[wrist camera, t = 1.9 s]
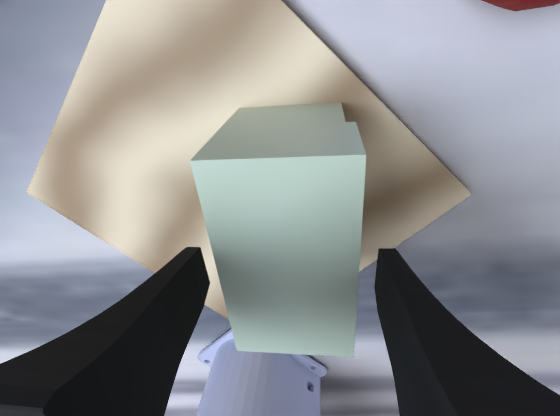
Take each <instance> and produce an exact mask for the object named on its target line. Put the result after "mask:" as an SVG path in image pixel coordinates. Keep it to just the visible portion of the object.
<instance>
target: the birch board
mask: <svg viewBox="0 0 560 416" xmlns="http://www.w3.org/2000/svg"><path fill="white" fill-rule="evenodd" d="M333 102H341V104H342V108H343V113H344V117H345V122H356V124H357V127H358V130H359V133H360V136H361V139H362V143H363V146H364V149H365V152H366V168H365V185H364V201H363V217H362V233H361V249H360V265H359V272H360V271H361V270H363V269H364V268H365V267H367V266H368V265H370V264H371V263H373V262H374V261H376V260H377V258H378V248H391V249H393V248H395V247H396V246H398V245H399V244H401V243H402V242H404V241H405V240H406V239H408V238H409V237H411V236H412V235H414V234H415V233H417V232H418V231H420V230H421V229H423V228H424V227H426V226H427V225H428V224H430V223H431V222H433V221H434V220H436V219H437V218H439V217H440V216H442V215H443V214H445V213H446V212H447V211H449V210H450V209H452V208H453V207H455V206H456V205H458V204H459V203H461V202H462V201H464V200H465V199H467V198H468V197H469V196H471V195H472V194H471V193H470V192H469V191H468V189H467V188H466V187H465V186H464V185H463V184H462V183H461V182H460V181H459V180H458V179H457V178H456V177H455V176H454V175H453V174H452V173H451V172H450V171H449V170H448V169H447V168H446V167H445V166H444V164H443V163H442V162H441V161H440V160H439V159H438V158H437V157H436V156H435V155H434V154H433V153H432V152H431V151H430V150H429V149H428V148H427V147H426V146H425V145H424V144H423V143H422V142H421V141H420V140H419V139H418V138H417V137H416V136H415V135H414V134H413V133H412V132H411V131H410V130H409V129H408V128H407V127H406V126H405V125H404V124H403V123H402V122H401V121H400V120H399V119H398V118H397V117H396V116H395V115H394V114H393V113H392V112H391V110H390V109H389V108H388V107H387V106H386V105H385V104H384V103H383V102H382V101H381V100H380V99H379V98H378V97H377V96H376V95H375V94H374V93H373V92H372V91H371V90H370V89H369V88H368V87H367V86H366V85H365V84H364V83H363V82H362V81H361V80H360V79H359V78H358V77H357V76H356V75H355V74H354V73H353V72H352V71H351V70H350V69H349V68H348V67H347V66H346V65H345V64H344V63H343V62H342V61H341V60H340V59H339V58H338V57H337V55H336V54H335V53H334V52H333V51H332V50H331V49H330V48H329V47H328V46H327V45H326V44H325V43H324V42H323V41H322V40H321V39H320V38H319V37H318V36H317V35H316V34H315V33H314V32H313V31H312V30H311V29H310V28H309V27H308V26H307V25H306V24H305V23H304V22H303V21H302V20H301V19H300V18H299V17H298V16H297V15H296V14H295V13H294V12H293V11H292V10H291V9H290V8H289V7H288V6H287V5H286V4H285V3H284V1H283V0H106V2H105V5H104V7H103V9H102V12H101V14H100V17H99V19H98V21H97V24H96V26H95V29H94V31H93V33H92V36H91V38H90V41H89V43H88V46H87V48H86V50H85V53H84V55H83V58H82V60H81V62H80V65H79V67H78V70H77V72H76V74H75V77H74V79H73V82H72V84H71V86H70V89H69V91H68V94H67V96H66V99H65V101H64V103H63V106H62V108H61V111H60V113H59V115H58V118H57V120H56V123H55V125H54V127H53V130H52V132H51V135H50V137H49V140H48V142H47V144H46V147H45V149H44V152H43V154H42V156H41V159H40V161H39V164H38V166H37V168H36V171H35V173H34V176H33V178H32V180H31V183H30V185H29V188H28V190H27V193H28V194H30V195H31V196H33V197H34V198H36V199H38V200H39V201H41V202H42V203H44V204H46V205H47V206H49V207H50V208H52V209H53V210H55V211H57V212H58V213H60V214H61V215H63V216H65V217H66V218H68V219H69V220H71V221H73V222H74V223H76V224H77V225H79V226H81V227H82V228H84V229H85V230H87V231H89V232H90V233H92V234H93V235H95V236H96V237H98V238H100V239H101V240H103V241H104V242H106V243H108V244H109V245H111V246H112V247H114V248H116V249H117V250H119V251H120V252H122V253H124V254H125V255H127V256H128V257H130V258H132V259H133V260H135V261H136V262H138V263H139V264H141V265H143V266H144V267H146V268H147V269H149V270H151V271H152V272H154V273H156V272H157V271H158V270H160V269H161V268H162V267H163V266H164V265H166V264H167V263H168V262H169V261H170V260H171V259H173V258H174V257H175V256H176V255H177V254H178V253H180V252H181V251H182V250H183V249H185V248H186V247H201V251H202V255H203V258H204V262H205V266H206V269H207V273H208V277H209V280H210V286H209V289H208V293H207V297H206V300H205V305H206V306H208V307H210V308H211V309H213V310H214V311H216V312H218V313H219V314H221V315H222V316H224V317H225V318H227V319H229V317H228V313H227V309H226V305H225V301H224V297H223V293H222V289H221V285H220V281H219V277H218V273H217V269H216V265H215V260H214V256H213V252H212V248H211V244H210V240H209V236H208V232H207V228H206V224H205V220H204V216H203V212H202V208H201V204H200V200H199V196H198V192H197V188H196V184H195V180H194V176H193V172H192V168H191V164H190V160H191V159H192V158H193V157H194V156H195V155H196V153H197V152H198V151H199V150H200V149H201V148H202V147H203V146H204V145H205V144H206V143H207V142H208V141H209V139H210V138H211V137H212V136H213V135H214V134H215V133H216V132H217V131H218V130H219V129H220V128H221V127H222V126H223V124H224V123H225V122H226V121H227V120H228V119H229V118H230V117H231V116H232V115H233V114H234V113H235V112H236V110H237V109H238V108H248V107H265V106H282V105H299V104H316V103H333Z"/></svg>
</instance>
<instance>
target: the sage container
mask: <svg viewBox="0 0 560 416" xmlns="http://www.w3.org/2000/svg"><path fill="white" fill-rule="evenodd" d="M190 164H191V168H192V172H193V176H194V180H195V184H196V188H197V192H198V196H199V200H200V204H201V208H202V212H203V216H204V220H205V224H206V228H207V232H208V236H209V240H210V244H211V248H212V252H213V256H214V260H215V265H216V269H217V273H218V277H219V281H220V285H221V289H222V293H223V297H224V301H225V305H226V309H227V313H228V317H229V321H230V325H231V329H232V333H233V337H234V341H235V345H236V349H237V351H249V352H266V353H284V354H302V355H320V356H338V357H354V345H355V329H356V313H357V297H358V281H359V265H360V249H361V233H362V217H363V201H364V185H365V168H366V152H365V149H364V146H363V143H362V139H361V136H360V133H359V130H358V127H357V124H356V122H345V117H344V113H343V108H342V104H341V102H333V103H316V104H299V105H282V106H265V107H248V108H238V109H237V110H236V112H235V113H234V114H233V115H232V116H231V117H230V118H229V119H228V120H227V121H226V122H225V123H224V124H223V126H222V127H221V128H220V129H219V130H218V131H217V132H216V133H215V134H214V135H213V136H212V137H211V138H210V139H209V141H208V142H207V143H206V144H205V145H204V146H203V147H202V148H201V149H200V150H199V151H198V152H197V153H196V155H195V156H194V157H193V158H192V159H191V160H190Z"/></svg>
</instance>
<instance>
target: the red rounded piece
mask: <svg viewBox="0 0 560 416" xmlns="http://www.w3.org/2000/svg"><path fill="white" fill-rule="evenodd" d="M482 1H485V2H488V3H490V4H493V5H496V6H498V7H501V8H504V9H508V10H512V11H520V10H526V9H533V8H539V7H546V6H553V5H556V4H559V3H560V0H482Z"/></svg>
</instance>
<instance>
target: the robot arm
mask: <svg viewBox="0 0 560 416" xmlns="http://www.w3.org/2000/svg"><path fill="white" fill-rule="evenodd" d="M209 286H210V280H209V277H208V273H207V269H206V266H205V262H204V258H203V255H202V251H201V247H186V248H185V249H183V250H182V251H181V252H180V253H178V254H177V255H176V256H175V257H174V258H173V259H171V260H170V261H169V262H168V263H167V264H166V265H164V266H163V267H162V268H161V269H160V270H158V271H157V272H156V273H155V274H154V275H152V276H151V277H150V278H149V279H148V280H146V281H145V282H144V283H142V284H141V285H140V286H139V287H137V288H136V289H135V290H133V291H132V292H131V293H129V294H128V295H127V296H125V297H124V298H123V299H121V300H120V301H118V302H117V303H116V304H114V305H113V306H111V307H110V308H108V309H106V310H105V311H103V312H102V313H100V314H99V315H97V316H95V317H94V318H92V319H90V320H89V321H87V322H85V323H83V324H82V325H80V326H78V327H76V328H75V329H73V330H71V331H69V332H68V333H66V334H64V335H62V336H60V337H58V338H56V339H54V340H52V341H50V342H48V343H46V344H44V345H42V346H40V347H38V348H36V349H33V350H31V351H29V352H27V353H24V354H22V355H20V356H18V357H15V358H13V359H11V360H8V361H6V362H4V363H1V364H0V416H164V414H165V410H166V407H167V403H168V400H169V396H170V393H171V389H172V386H173V383H174V380H175V377H176V374H177V370H178V367H179V364H180V362H181V359H182V356H183V354H184V351H185V349H186V347H187V344H188V342H189V340H190V337H191V335H192V333H193V330H194V328H195V326H196V323H197V321H198V319H199V316H200V314H201V312H202V309H203V307H204V304H205V300H206V297H207V293H208V289H209ZM375 294H376V302H377V309H378V314H379V319H380V323H381V327H382V331H383V335H384V338H385V342H386V346H387V350H388V354H389V358H390V362H391V366H392V371H393V376H394V381H395V387H396V394H397V400H398V407H399V413H400V416H560V395H558V394H557V393H555V392H554V391H552V390H550V389H549V388H547V387H546V386H544V385H542V384H541V383H539V382H538V381H536V380H535V379H533V378H532V377H530V376H529V375H527V374H526V373H525V372H523V371H522V370H520V369H519V368H517V367H516V366H514V365H513V364H512V363H510V362H509V361H508V360H506V359H505V358H503V357H502V356H501V355H500V354H498V353H497V352H496V351H494V350H493V349H492V348H490V347H489V346H488V345H487V344H485V343H484V342H483V341H481V340H480V339H479V338H478V337H477V336H475V335H474V334H473V333H472V332H471V331H469V330H468V329H467V328H466V327H465V326H464V325H463V324H462V323H461V322H460V321H458V320H457V319H456V318H455V317H454V316H453V315H452V314H451V313H450V312H449V311H448V310H447V309H446V308H445V307H444V306H443V305H442V304H441V303H440V302H439V301H438V300H437V299H436V298H435V296H434V295H433V294H432V293H431V292H430V291H429V290H428V289H427V287H426V286H425V285H424V284H423V283H422V282H421V281H420V279H419V278H418V277H417V276H416V275H415V273H414V272H413V271H412V270H411V268H410V267H409V266H408V264H407V263H406V262H405V260H404V259H403V258H402V256H401V255H400V254H399V252H398V251H397V250H396V249H391V248H378V258H377V268H376V278H375ZM198 359H199V360H200V361H201V362H203V363H205V364H207V365H208V366H210V367H211V370H210V373H209V376H208V379H207V383H206V386H205V389H204V392H203V395H202V398H201V401H200V404H199V408H198V411H197V414H196V416H320V378H321V377H323V376H325V375H326V374H327V369H326V368H325V367H324V366H322V365H321V364H319V363H318V362H316V361H314V360H313V359H311V358H310V357H308V356H307V355H302V354H284V353H266V352H249V351H237V349H236V345H235V341H234V337H233V333H232V329H230V330H229V331H228V332H226V333H225V334H224V335H223V336H221V337H220V338H219V339H217V340H216V341H215V342H213V343H212V344H211V345H209V346H208V347H207V348H205V349H204V350H203V351H202V352H200V353H199V355H198Z"/></svg>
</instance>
